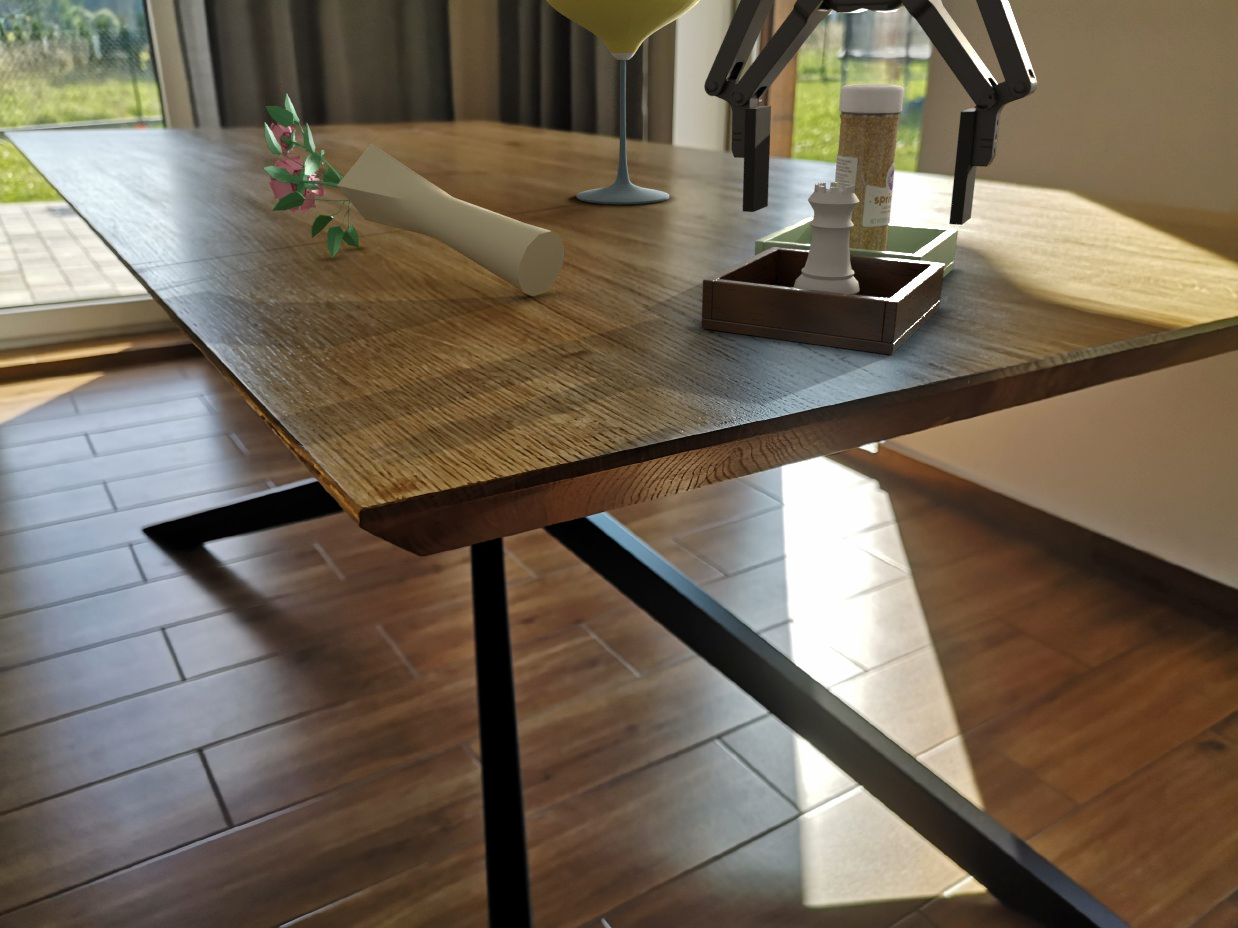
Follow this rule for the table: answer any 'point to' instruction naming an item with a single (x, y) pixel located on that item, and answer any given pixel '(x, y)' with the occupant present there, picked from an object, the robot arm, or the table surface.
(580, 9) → the cocktail glass
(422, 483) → the table surface
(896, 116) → the sprinkles bottle
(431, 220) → the flower vase
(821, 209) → the rook chess piece
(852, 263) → the walnut bin
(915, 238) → the green bin
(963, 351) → the table surface
